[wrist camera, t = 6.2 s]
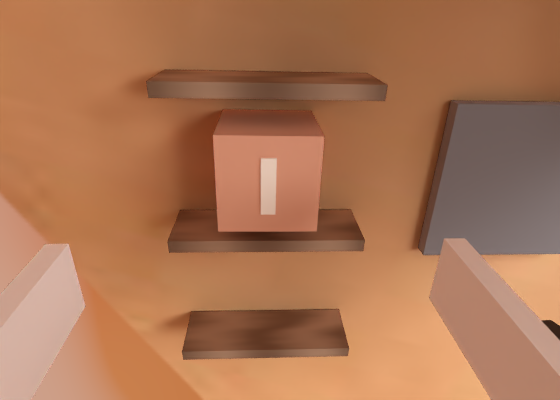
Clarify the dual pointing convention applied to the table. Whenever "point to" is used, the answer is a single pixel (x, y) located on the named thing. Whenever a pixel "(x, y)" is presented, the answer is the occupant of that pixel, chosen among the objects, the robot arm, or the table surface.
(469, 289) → the robot arm
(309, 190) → the letter cube
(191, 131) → the table surface
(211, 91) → the bay rack
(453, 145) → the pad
